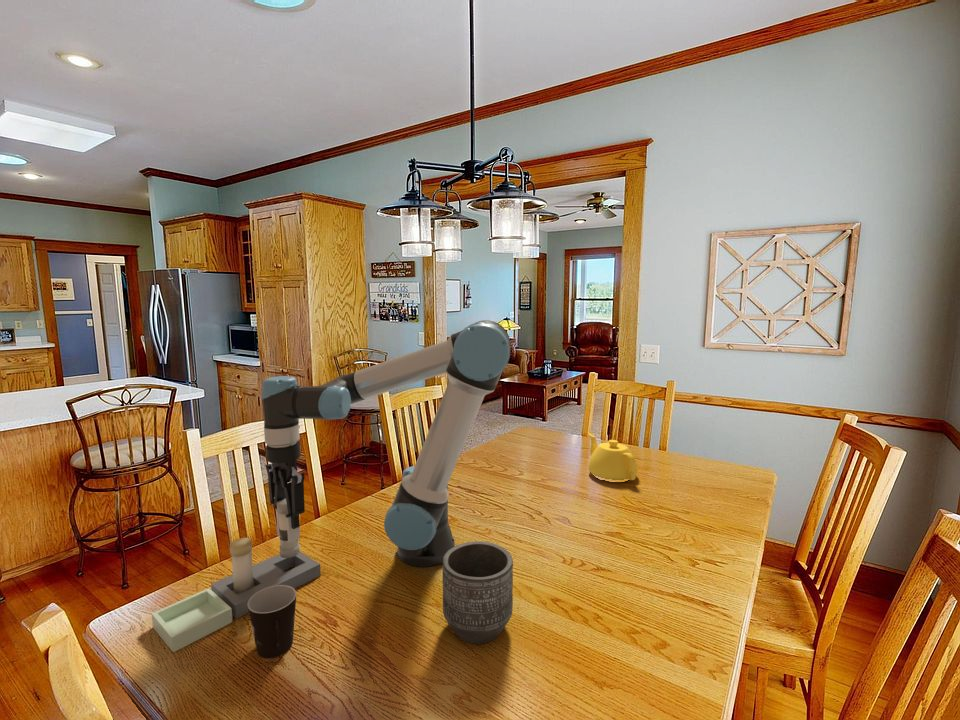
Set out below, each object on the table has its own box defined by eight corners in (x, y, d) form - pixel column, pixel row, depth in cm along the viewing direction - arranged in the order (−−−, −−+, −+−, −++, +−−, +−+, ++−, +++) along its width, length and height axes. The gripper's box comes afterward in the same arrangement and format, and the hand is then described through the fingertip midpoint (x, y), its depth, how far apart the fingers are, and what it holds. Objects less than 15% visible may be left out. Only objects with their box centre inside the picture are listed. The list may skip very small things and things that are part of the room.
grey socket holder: (320, 575, 116) (318, 524, 114) (236, 618, 100) (232, 560, 99) (294, 558, 123) (291, 510, 121) (211, 596, 108) (207, 542, 106)
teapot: (570, 468, 188) (571, 434, 186) (604, 461, 196) (606, 428, 195) (615, 490, 166) (617, 453, 165) (652, 481, 175) (654, 445, 173)
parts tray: (232, 622, 99) (231, 608, 99) (173, 652, 91) (171, 637, 90) (210, 600, 106) (209, 587, 106) (152, 627, 98) (151, 613, 97)
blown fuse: (303, 552, 115) (300, 501, 114) (286, 560, 112) (282, 507, 110) (293, 546, 118) (290, 496, 116) (276, 553, 115) (273, 502, 113)
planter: (457, 661, 89) (457, 587, 87) (433, 614, 101) (433, 549, 100) (524, 639, 94) (526, 569, 92) (494, 598, 107) (494, 535, 105)
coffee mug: (260, 631, 96) (257, 586, 95) (304, 629, 97) (301, 583, 96) (236, 677, 85) (232, 626, 83) (286, 674, 86) (283, 623, 84)
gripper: (317, 445, 109) (323, 541, 112) (279, 432, 120) (285, 520, 123) (287, 454, 103) (293, 555, 106) (249, 439, 114) (256, 532, 117)
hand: (288, 536), depth 115 cm, fingers closed on blown fuse, 4 cm apart
